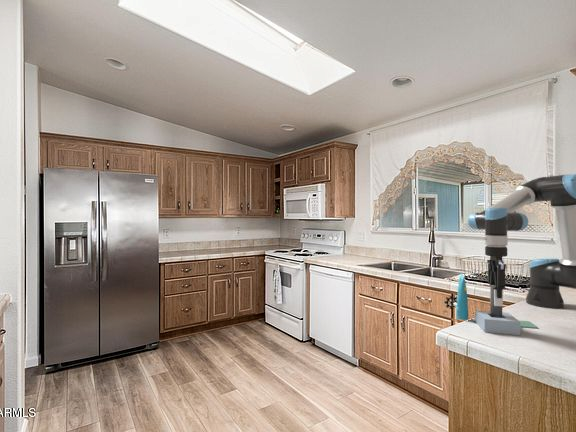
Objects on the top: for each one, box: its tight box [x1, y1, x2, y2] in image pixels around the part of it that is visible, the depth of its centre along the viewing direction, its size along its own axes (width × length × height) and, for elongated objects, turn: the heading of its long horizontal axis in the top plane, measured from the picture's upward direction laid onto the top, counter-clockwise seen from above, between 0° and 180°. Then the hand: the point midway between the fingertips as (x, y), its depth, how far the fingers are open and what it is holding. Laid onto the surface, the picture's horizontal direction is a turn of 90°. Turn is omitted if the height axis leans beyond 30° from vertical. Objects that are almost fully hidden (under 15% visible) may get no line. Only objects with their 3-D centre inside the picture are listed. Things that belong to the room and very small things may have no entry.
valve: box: [443, 295, 457, 310], centre depth 150 cm, size 7×7×12 cm
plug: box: [489, 284, 503, 318], centre depth 130 cm, size 4×4×14 cm
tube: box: [455, 273, 470, 321], centre depth 141 cm, size 7×5×19 cm, turn 168°
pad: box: [519, 320, 539, 329], centre depth 134 cm, size 8×8×1 cm
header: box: [474, 309, 521, 336], centre depth 129 cm, size 12×12×5 cm
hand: (496, 304), depth 130 cm, fingers closed on plug, 4 cm apart
